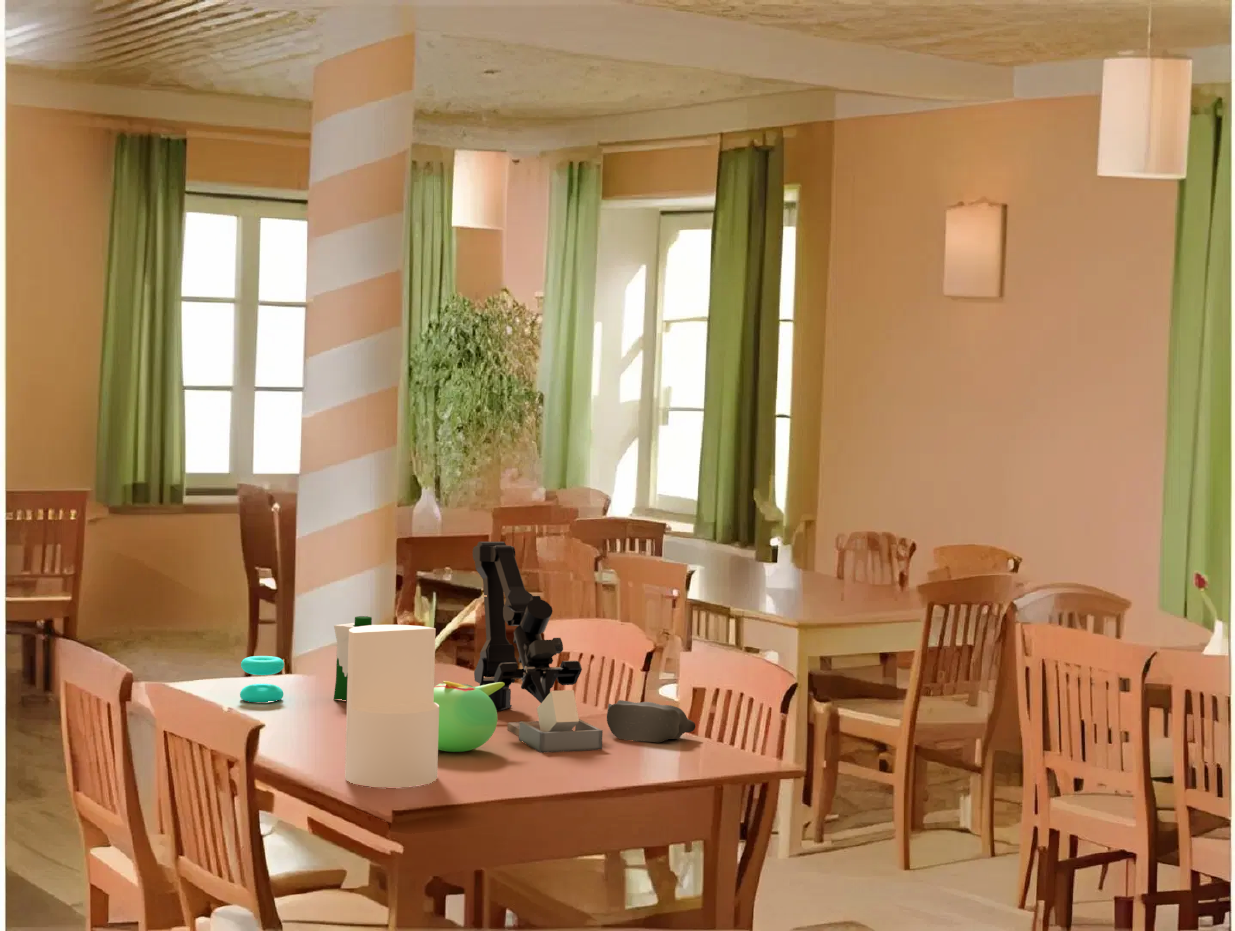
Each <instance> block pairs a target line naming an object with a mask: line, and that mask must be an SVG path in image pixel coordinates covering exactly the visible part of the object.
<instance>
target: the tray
mask: <svg viewBox="0 0 1235 931" xmlns="http://www.w3.org/2000/svg"><path fill="white" fill-rule="evenodd" d="M519 722H520V723H519V736H518V741H520V742H521V741H523V742H524V743H523V742H522V743H523V744H525V743H526V744H527V746H528V745H529V746H528V747H530V748H532V749H533V748H534V750H535V749H536V750H535V751H537V752H539V753H541V754H542V753H544V752H545V753H561V752H563V751H564V752H579V751H598V749H602V750H603V732H604V731H603V730H602V729H600V728H599V727H596V726H594V725H593V724H590V723H589V722H586V721H584V720H582V719H580V718H579V722H578V723H577V724H576V725H575V727H574V730H573V731H560V732H542V731H540V730H538V729H536V728H534V727H533V726H531V725H529V724H527V723H525V722H526V721H523V720H520V721H519ZM526 744H525V745H526ZM564 752H563V753H564ZM545 753H544V754H545Z"/></svg>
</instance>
